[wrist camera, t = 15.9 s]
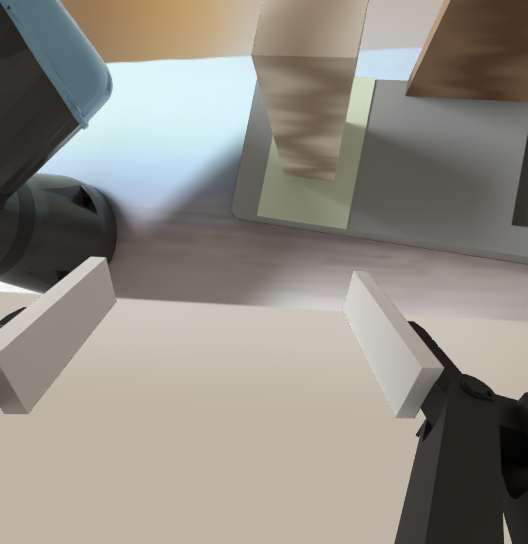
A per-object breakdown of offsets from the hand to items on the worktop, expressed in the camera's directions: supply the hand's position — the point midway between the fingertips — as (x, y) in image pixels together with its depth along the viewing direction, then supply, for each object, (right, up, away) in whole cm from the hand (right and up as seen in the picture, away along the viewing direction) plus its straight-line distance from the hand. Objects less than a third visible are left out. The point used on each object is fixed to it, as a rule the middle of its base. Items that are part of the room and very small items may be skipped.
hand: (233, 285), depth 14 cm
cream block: (+7, +13, +12) cm, 19 cm away
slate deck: (+16, +11, +13) cm, 24 cm away
